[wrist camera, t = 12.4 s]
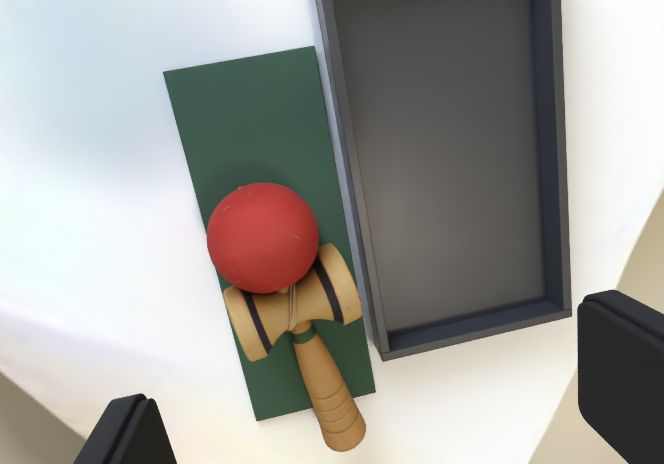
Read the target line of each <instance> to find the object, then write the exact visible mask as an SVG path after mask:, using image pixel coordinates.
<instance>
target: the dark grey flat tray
mask: <svg viewBox="0 0 664 464" xmlns="http://www.w3.org/2000/svg"><path fill="white" fill-rule="evenodd" d="M316 5H317V11H318V17H319V23H320V28H321V34H322V40H323V46H324V52H325V57H326V63H327V69H328V75H329V81H330V86H331V92H332V98H333V104H334V110H335V115H336V121H337V127H338V133H339V139H340V145H341V150H342V156H343V162H344V168H345V174H346V179H347V185H348V191H349V197H350V203H351V208H352V214H353V220H354V226H355V232H356V237H357V243H358V249H359V255H360V261H361V266H362V272H363V278H364V284H365V290H366V296H367V301H368V307H369V313H370V319H371V325H372V330H373V336H374V342H375V347H376V348H377V351H378V353H379V355H380V357H381V359H382V361H383V362H384V361H388V360H393V359H397V358H401V357H405V356H409V355H413V354H418V353H422V352H426V351H430V350H434V349H439V348H443V347H447V346H451V345H455V344H459V343H464V342H468V341H472V340H476V339H480V338H485V337H489V336H493V335H497V334H501V333H505V332H510V331H514V330H518V329H522V328H526V327H531V326H535V325H539V324H543V323H547V322H551V321H556V320H560V319H564V318H568V317H572V309H571V308H572V301H571V272H570V244H569V216H568V187H567V159H566V131H565V102H564V74H563V45H562V17H561V0H316Z"/></svg>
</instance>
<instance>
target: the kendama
mask: <svg viewBox="0 0 664 464" xmlns="http://www.w3.org/2000/svg"><path fill="white" fill-rule="evenodd" d="M318 244H319V230H318V225H317V221H316V218H315V216H314V214H313V212H312V210H311V208H310V207H309V205H308V204H307V203H306V201H305V200H304V199H303V198H302V197H301V196H299V195H298V194H297V193H296V192H294V191H293V190H291V189H289V188H287V187H285V186H283V185H279V184H274V183H254V184H250V185H246V186H244V187H239V189H237V190H235V191H233V192H232V193H230V194H229V195H227V196H226V197H225V198H224V199H223V200H222V201H221V202H220V203H219V204H218V206H217V207H216V208H215V210H214V212H213V213H212V215H211V218H210V220H209V223H208V228H207V247H208V251H209V255H210V257H211V260H212V262H213V264H214V266H215V268H216V269H217V270H218V272H219V273H220V274H221V275H222V276H223V277H224V278H225V279H226V280H227V281H228V282H230V283H231V284H233V286H231V287H229V288H227V289H225V290H224V293H223V296H224V301H225V305H226V308H227V310H228V313H229V317H230V320H231V322H232V325H233V327H234V329H235V332H236V334H237V336H238V339H239V341H240V344H241V346H242V348H243V350H244V352H245V354H246V356H247V358H248V359H249V360H250V361H252V362H253V361H256V360H259V359H261V358H264V357H267V356H268V354H269V352H270V350H271V348H272V346H273V344H274V343H275V341H276V340H277V339H278V338H279V336H280V335H281V334H282V333H284V332H285V331H286V330H287V332H288V331H290V332H291V337H292V340H293V344H294V348H295V352H296V356H297V360H298V364H299V367H300V370H301V373H302V377H303V380H304V382H305V385H306V388H307V391H308V393H309V396H310V399H311V402H312V404H313V407H314V410H315V413H316V416H317V419H318V422H319V424H320V428H321V431H322V434H323V438H324V440H325V443H326V444H327V446H328V447H330V448H331V449H332V450H334V451H339V452H344V451H348V450H351V449H353V448H355V447H356V446H357V445H358V444H359V443H360V442H361V441H362V439H363V438H364V435H365V432H366V424H365V421H364V419H363V417H362V415H361V413H360V412H359V410H358V408H357V406H356V404H355V402H354V400H353V398H352V396H351V394H350V392H349V390H348V388H347V386H346V384H345V382H344V380H343V378H342V376H341V373H340V371H339V369H338V367H337V365H336V363H335V361H334V359H333V357H332V355H331V353H330V352H329V350H328V348H327V346H326V345H325V343H324V342H323V340H322V338H321V337H320V335H319V333H318V332H317V330H316V328H315V327H314V325H313V324H312V322H311V319H327V320H332V321H335V322H338V323H341V324H343V325H346V324H348V323H350V322H352V321H354V320H356V319H358V318H360V317H361V316H362V305H361V300H360V297H359V294H358V291H357V288H356V285H355V283H354V280H353V278H352V275H351V273H350V271H349V269H348V267H347V265H346V263H345V261H344V259H343V257H342V256H341V254H340V253H339V251H338V250H337V249H336V248H335V247H334V246H333V245H332V244H330V243H328V244H325V245H322V246H320V247H318Z"/></svg>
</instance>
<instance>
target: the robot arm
mask: <svg viewBox="0 0 664 464" xmlns="http://www.w3.org/2000/svg"><path fill="white" fill-rule="evenodd" d="M577 324H578V405H579V409H580V412H581V414H582V416H583V418H584V419H585V420H586V422H587V423H588V424H589V425H590V426H591V427H592V428H593V429H594V430H595V431H596V432H597V433H598V434H599V435H600V436H601V437H602V438H604V440H605V441H606V442H607V443H608V444H609V445H610V446H612V447H613V448H614V449H615V450H616V451H617V452H618V453H619V454H620V455H621V456H622V457H623V458H624V459H625V460H626V461H627V462H628V463H629V464H664V314H662V313H660V312H658V311H656V310H654V309H652V308H650V307H648V306H646V305H644V304H642V303H641V302H639V301H636V300H635V299H632V298H631V297H629V296H627V295H625V294H623V293H621V292H619V291H616V290H608V291H603V292H599V293H594V294H590V295H587V296H585V297H584V299H583V302H582V303H581V304H579V306H578V310H577ZM73 464H177V462H176V459H175V456H174V453H173V450H172V447H171V444H170V441H169V439H168V436H167V433H166V430H165V427H164V424H163V421H162V418H161V415H160V412H159V409H158V406H157V404H156V402H155V400H154V399H152V398H151V399H147V398H146V396H145V395H144V394H141V393H140V394H136V395H131V396H127V397H122V398H118V399H114V400H112V401H111V402H110V403H109V404H108V406H107V408H106V409H105V411H104V413H103V414H102V416H101V418H100V419H99V421H98V423H97V424H96V426H95V428H94V430H93V431H92V433H91V435H90V436H89V438H88V440H87V441H86V443H85V445H84V446H83V448H82V450H81V451H80V453H79V455H78V456H77V458H76V460H75V461H74V463H73Z"/></svg>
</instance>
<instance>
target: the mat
mask: <svg viewBox="0 0 664 464" xmlns="http://www.w3.org/2000/svg"><path fill="white" fill-rule="evenodd" d="M163 74H164V78H165V82H166V85H167V89H168V93H169V97H170V100H171V104H172V108H173V111H174V115H175V119H176V123H177V126H178V130H179V134H180V138H181V141H182V145H183V149H184V152H185V156H186V160H187V164H188V167H189V171H190V175H191V179H192V182H193V186H194V190H195V193H196V197H197V201H198V205H199V208H200V212H201V216H202V220H203V223H204V227H205V231H206V234H207V228H208V223H209V220H210V218H211V215H212V213H213V212H214V210H215V208H216V207H217V206H218V204H219V203H220V202H221V201H222V200H223V199H224V198H225V197H226V196H227V195H229V194H230V193H232V192H233V191H235V190H237V189H239V187H244V186H246V185H250V184H254V183H274V184H279V185H283V186H285V187H287V188H289V189H291V190H293V191H294V192H296V193H297V194H298V195H299V196H301V197H302V198H303V199H304V200H305V201H306V203H307V204H308V205H309V207H310V208H311V210H312V212H313V214H314V216H315V218H316V221H317V225H318V230H319V244H318V247H320V246H322V245H325V244H328V243H330V244H332V245H333V246H334V247H335V248H336V249H337V250H338V251H339V253H340V254H341V256H342V257H343V259H344V261H345V263H346V265H347V267H348V269H349V271H350V273H351V275H352V278H353V280H354V283H355V285H356V288H357V284H356V278H355V272H354V267H353V261H352V255H351V250H350V244H349V238H348V233H347V227H346V222H345V216H344V210H343V205H342V199H341V193H340V188H339V182H338V176H337V171H336V165H335V160H334V154H333V148H332V143H331V137H330V131H329V126H328V120H327V115H326V109H325V103H324V98H323V92H322V86H321V81H320V75H319V69H318V64H317V58H316V53H315V47H314V46H311V47H305V48H299V49H293V50H288V51H282V52H276V53H270V54H264V55H259V56H253V57H247V58H241V59H235V60H229V61H224V62H218V63H212V64H206V65H200V66H195V67H189V68H183V69H177V70H171V71H165V72H163ZM216 272H217V275H218V279H219V283H220V287H221V290H222V294H223V293H224V290H225V289H227V288H229V287H231V286H233V284H231V283H230V282H228V281H227V280H226V279H225V278H224V277H223V276H222V275H221V274H220V273H219V272H218V270H217V269H216ZM357 291H358V289H357ZM223 298H224V296H223ZM224 302H225V301H224ZM226 309H227V308H226ZM227 313H228V310H227ZM228 317H229V313H228ZM229 320H230V317H229ZM311 322H312V324H313V325H314V327H315V328H316V330H317V332H318V333H319V335H320V337H321V338H322V340H323V342H324V343H325V345H326V346H327V348H328V350H329V352H330V353H331V355H332V357H333V359H334V361H335V363H336V365H337V367H338V369H339V371H340V373H341V376H342V378H343V380H344V382H345V384H346V386H347V388H348V390H349V392H350V394H351V396H352V398H355V397H359V396H363V395H367V394H371V393H375V392H376V391H375V385H374V379H373V374H372V368H371V362H370V357H369V351H368V346H367V340H366V334H365V329H364V323H363V317H362V316H361V317H360V318H358V319H356V320H354V321H352V322H350V323H348V324H346V325H343V324H341V323H338V322H335V321H332V320H327V319H311ZM230 324H231V328H232V331H233V335H234V339H235V343H236V346H237V350H238V354H239V358H240V361H241V365H242V369H243V372H244V376H245V380H246V384H247V387H248V391H249V395H250V399H251V402H252V406H253V410H254V413H255V417H256V421H261V420H265V419H269V418H273V417H277V416H281V415H285V414H289V413H293V412H297V411H302V410H306V409H310V408H314V407H313V404H312V402H311V399H310V396H309V393H308V391H307V388H306V385H305V382H304V380H303V377H302V373H301V370H300V367H299V364H298V360H297V356H296V352H295V348H294V344H293V340H292V337H291V332H290V331H288V332H287V330H286V331H285V332H284V333H282V334H281V335H280V336H279V338H278V339H277V340H276V341H275V343H274V344H273V346H272V348H271V350H270V352H269V354H268V356H267V357H264V358H261V359H259V360H256V361H253V362H252V361H250V360H249V359H248V358H247V356H246V354H245V352H244V350H243V348H242V346H241V344H240V341H239V339H238V336H237V334H236V332H235V329H234V327H233V325H232V322H231V320H230Z"/></svg>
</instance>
